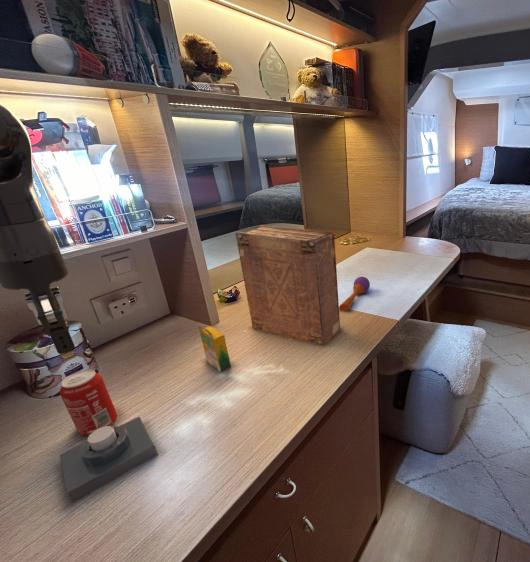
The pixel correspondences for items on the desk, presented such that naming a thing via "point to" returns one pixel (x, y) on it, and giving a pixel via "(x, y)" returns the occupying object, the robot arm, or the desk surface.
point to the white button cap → (102, 438)
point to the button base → (106, 459)
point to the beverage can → (87, 401)
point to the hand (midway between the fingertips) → (66, 350)
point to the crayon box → (215, 348)
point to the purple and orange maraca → (355, 292)
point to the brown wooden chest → (291, 282)
